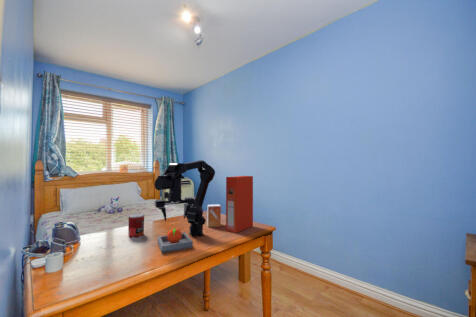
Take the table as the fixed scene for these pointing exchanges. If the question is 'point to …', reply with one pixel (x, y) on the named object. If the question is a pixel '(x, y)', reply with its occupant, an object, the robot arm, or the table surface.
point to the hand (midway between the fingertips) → (175, 219)
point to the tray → (168, 247)
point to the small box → (213, 215)
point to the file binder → (239, 203)
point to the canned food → (136, 225)
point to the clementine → (174, 235)
